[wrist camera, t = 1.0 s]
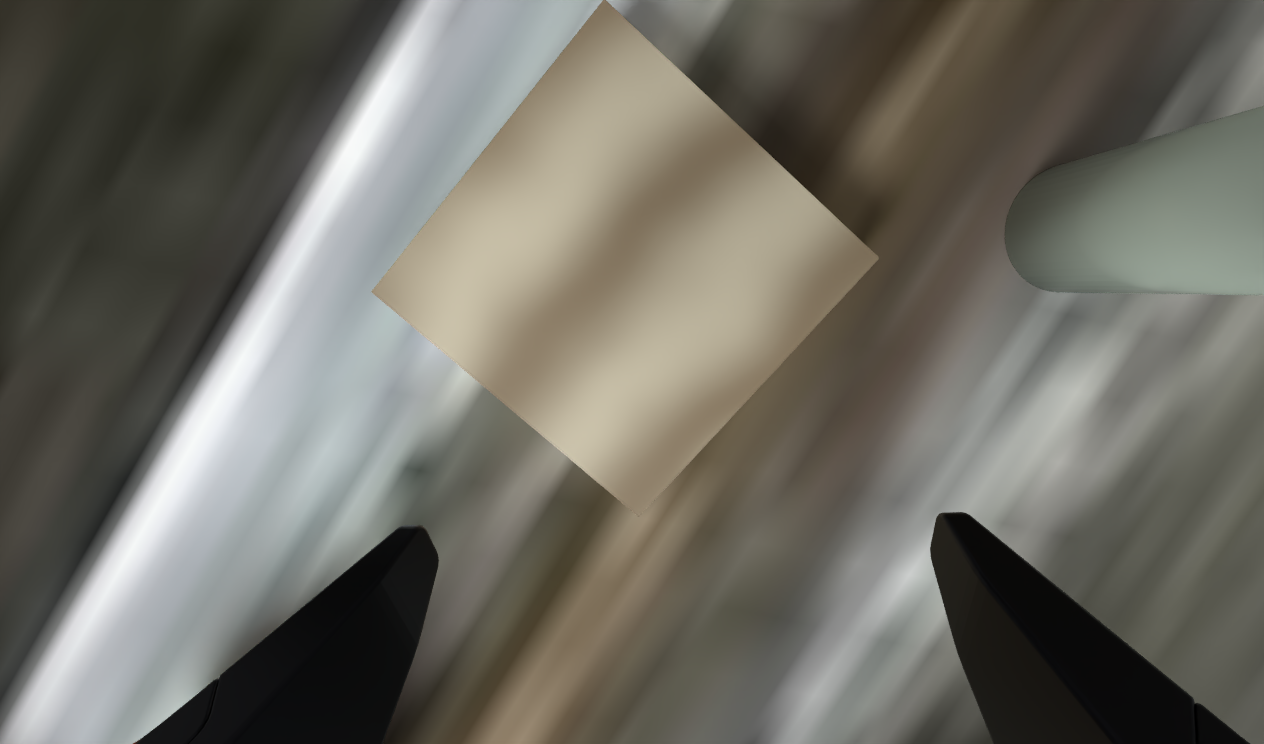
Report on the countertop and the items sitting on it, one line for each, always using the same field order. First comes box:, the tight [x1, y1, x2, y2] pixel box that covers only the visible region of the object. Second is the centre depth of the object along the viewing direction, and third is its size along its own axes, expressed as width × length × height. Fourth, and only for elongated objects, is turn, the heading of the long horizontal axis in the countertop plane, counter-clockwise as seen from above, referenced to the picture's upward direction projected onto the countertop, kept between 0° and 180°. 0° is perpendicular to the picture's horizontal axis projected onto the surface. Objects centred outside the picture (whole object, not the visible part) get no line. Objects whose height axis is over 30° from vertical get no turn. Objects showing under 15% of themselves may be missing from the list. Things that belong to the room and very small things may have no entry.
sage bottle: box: [1005, 106, 1264, 295], centre depth 16 cm, size 5×5×13 cm
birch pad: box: [372, 0, 879, 517], centre depth 22 cm, size 13×13×2 cm
